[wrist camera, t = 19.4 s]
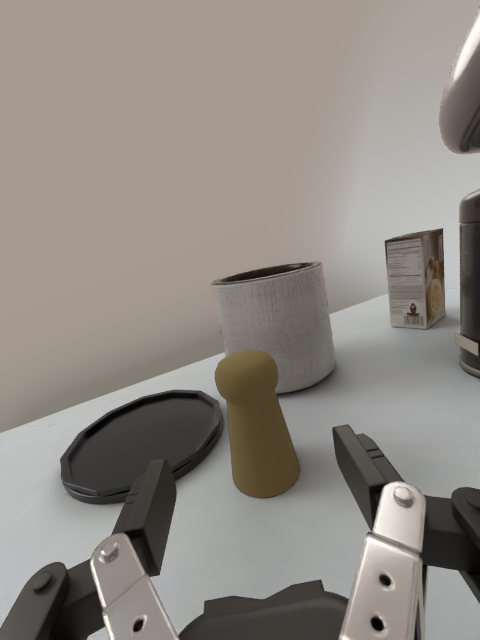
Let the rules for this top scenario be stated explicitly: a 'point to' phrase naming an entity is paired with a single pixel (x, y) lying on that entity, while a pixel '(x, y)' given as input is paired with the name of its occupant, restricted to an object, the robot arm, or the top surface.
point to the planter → (279, 320)
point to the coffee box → (416, 279)
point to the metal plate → (140, 443)
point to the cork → (256, 425)
